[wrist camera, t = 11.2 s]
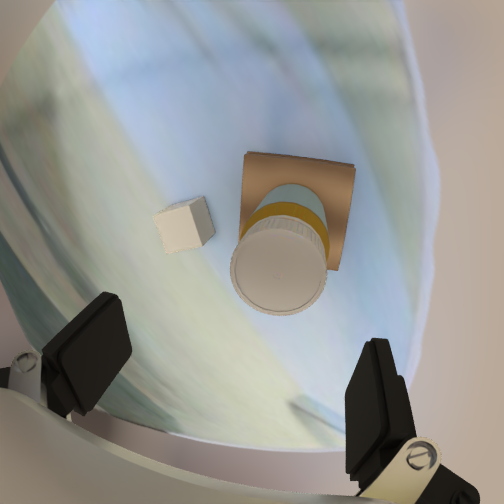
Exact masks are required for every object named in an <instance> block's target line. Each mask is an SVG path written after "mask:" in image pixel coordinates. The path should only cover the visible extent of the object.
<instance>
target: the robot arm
mask: <svg viewBox="0 0 504 504" xmlns="http://www.w3.org/2000/svg"><path fill="white" fill-rule="evenodd" d="M42 352H43V355H42V356H40V354H39V353H38V352H37V351H34V350H26V351H22V352H20V353H19V354H18V355H16V356H15V357H14V359H13V360H12V363H11V367H6V368H1V369H0V504H480V495H479V493H478V491H477V489H476V488H475V487H474V486H472V485H471V484H469V483H468V482H466V481H465V480H463V479H462V478H461V477H459V476H458V475H456V474H455V473H453V472H452V471H450V470H449V469H447V468H446V467H445V466H443V465H441V464H440V462H441V452H440V449H439V447H438V446H437V444H436V443H435V442H433V441H432V440H430V439H428V438H425V437H417V435H416V430H415V426H414V420H413V415H412V410H411V406H410V401H409V397H408V393H407V389H406V385H405V381H404V378H403V377H402V376H401V375H397V371H396V367H395V363H394V359H393V355H392V352H391V348H390V344H389V341H388V339H382V338H372V339H371V341H370V342H369V341H366V343H365V345H364V347H363V350H362V353H361V355H360V358H359V360H358V363H357V365H356V368H355V370H354V373H353V375H352V377H351V380H350V382H349V384H348V387H347V389H346V392H345V423H346V473H347V474H350V481H359V488H360V490H359V491H358V492H357V493H356V494H355V495H354V496H339V495H323V494H308V493H297V492H288V491H280V490H272V489H264V488H259V487H252V486H247V485H242V484H237V483H232V482H227V481H223V480H218V479H214V478H210V477H206V476H202V475H199V474H195V473H192V472H188V471H185V470H181V469H178V468H175V467H172V466H169V465H166V464H163V463H160V462H158V461H155V460H152V459H149V458H147V457H144V456H142V455H139V454H136V453H134V452H132V451H129V450H127V449H124V448H122V447H120V446H118V445H115V444H113V443H111V442H109V441H107V440H104V439H103V438H100V437H98V436H96V435H94V434H92V433H90V432H88V431H86V430H85V429H83V428H81V427H79V426H77V425H75V424H73V423H72V422H71V414H70V412H71V411H72V410H74V411H75V412H77V413H79V414H81V415H82V416H85V414H86V413H87V412H88V411H91V410H92V409H93V408H94V406H95V405H96V403H97V402H98V400H99V399H100V398H101V396H102V395H103V393H104V392H105V391H106V389H107V388H108V386H109V385H110V384H111V382H112V381H113V379H114V378H115V377H116V375H117V374H118V373H119V371H120V370H121V368H122V367H123V366H124V364H125V363H126V362H127V360H128V359H129V358H130V356H131V354H132V346H131V342H130V338H129V334H128V330H127V325H126V321H125V316H124V312H123V307H122V302H121V300H120V299H119V297H118V296H117V295H116V294H113V293H109V292H102V293H101V294H100V295H99V296H98V297H97V298H95V299H94V300H93V301H92V302H91V303H90V304H89V305H88V306H87V307H86V308H85V309H83V310H82V311H81V312H80V313H79V314H78V315H77V316H76V317H75V318H74V319H73V320H72V321H71V322H69V323H68V324H67V325H66V326H65V327H64V328H63V329H62V330H61V331H60V332H59V333H58V334H57V335H56V336H55V337H54V338H53V339H52V340H51V341H50V342H49V343H48V344H47V345H46V346H45V347H44V348H43V349H42Z"/></svg>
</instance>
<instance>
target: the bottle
mask: <svg viewBox="0 0 504 504" xmlns="http://www.w3.org/2000/svg"><path fill="white" fill-rule="evenodd" d="M329 250H330V241H329V235H328V229H327V223H326V217H325V212H324V208H323V204H322V202H321V201H320V199H319V197H318V196H317V195H316V194H315V193H314V192H313V191H312V190H311V189H309V188H308V187H305V186H303V185H300V184H293V183H288V184H284V185H280V186H277V187H276V188H274V189H273V190H271V191H270V192H269V193H268V194H267V195H266V197H265V198H264V199H263V200H262V202H261V203H260V204H259V206H258V207H257V208H256V210H255V211H254V212H253V214H252V215H251V216H250V218H249V219H248V220H247V222H246V224H245V226H244V228H243V230H242V233H241V236H240V242H239V244H238V245H237V247H236V248H235V251H234V253H233V256H232V258H231V263H230V275H231V280H232V284H233V286H234V288H235V290H236V292H237V294H238V295H239V296H240V298H241V299H242V300H243V301H244V302H245V303H247V304H248V305H249V306H251V307H252V308H254V309H255V310H257V311H260V312H262V313H265V314H269V315H275V316H286V315H292V314H296V313H299V312H301V311H303V310H305V309H307V308H308V307H310V306H311V305H312V304H313V303H314V302H315V301H316V300H317V299H318V298H319V296H320V295H321V293H322V291H323V289H324V286H325V284H326V283H325V281H326V279H327V277H326V276H327V265H326V263H327V261H328V257H329Z"/></svg>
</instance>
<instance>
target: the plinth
mask: <svg viewBox="0 0 504 504" xmlns="http://www.w3.org/2000/svg"><path fill="white" fill-rule="evenodd" d="M355 171H356V168H354V165H353V164H347V163H341V162H335V161H328V160H321V159H314V158H307V157H299V156H290V155H281V154H271V153H261V152H249V151H248V152H247V154H245V155H244V165H243V180H242V195H241V211H240V227H239V242H240V236H241V233H242V230H243V228H244V226H245V224H246V222H247V220H248V219H249V218H250V216H251V215H252V214H253V212H254V211H255V210H256V208H257V207H258V206H259V204H260V203H261V202H262V200H263V199H264V198H265V197H266V195H267V194H268V193H269V192H270V191H271V190H273V189H274V188H276V187H277V186H280V185H284V184H288V183H293V184H300V185H303V186H305V187H308V188H309V189H311V190H312V191H313V192H314V193H315V194H316V195H317V196H318V197H319V199H320V201H321V202H322V204H323V208H324V212H325V217H326V223H327V229H328V235H329V241H330V250H329V257H328V261H327V263H326V265H327V270H335V271H338V268H339V264H340V259H341V254H342V249H343V244H344V239H345V233H346V228H347V222H348V216H349V211H350V205H351V198H352V192H353V185H354V178H355Z"/></svg>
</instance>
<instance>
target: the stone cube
mask: <svg viewBox="0 0 504 504" xmlns="http://www.w3.org/2000/svg"><path fill="white" fill-rule="evenodd" d="M153 218H154V221H155V224H156V226H157V229H158V232H159V235H160V237H161V240H162V243H163V246H164V248H165V251H166V254H169V253H174V252H179V251H183V250H188V249H192V248H197V247H202V246H203V245H204V244H205V243H206V242H207V241H208V240H209V239H210V238H211V237H212V236H213V235H214V234H215V230H214V226H213V223H212V220H211V217H210V214H209V211H208V208H207V205H206V201H205V198H204V196H202V197H198V198H195V199H191V200H188V201H185V202H181V203H178V204H175V205H171V206H169V207H167V208H166V209H164V210H162V211H160V212H158V213H157V214H155V215H153Z"/></svg>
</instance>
